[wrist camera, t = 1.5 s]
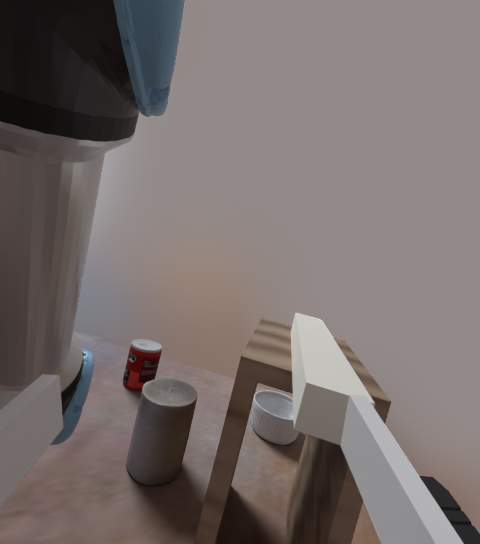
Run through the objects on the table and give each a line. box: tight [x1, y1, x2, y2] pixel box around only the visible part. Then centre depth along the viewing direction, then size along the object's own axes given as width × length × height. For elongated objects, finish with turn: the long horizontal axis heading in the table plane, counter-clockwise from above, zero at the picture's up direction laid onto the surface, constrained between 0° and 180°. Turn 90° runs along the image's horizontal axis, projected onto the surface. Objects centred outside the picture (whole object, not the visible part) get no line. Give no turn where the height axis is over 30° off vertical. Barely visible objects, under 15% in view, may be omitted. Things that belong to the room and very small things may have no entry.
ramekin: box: [251, 390, 299, 445], centre depth 71 cm, size 13×13×7 cm
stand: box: [194, 318, 391, 544], centre depth 39 cm, size 22×14×30 cm, turn 170°
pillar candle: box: [126, 378, 197, 485], centre depth 51 cm, size 10×10×15 cm
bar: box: [291, 313, 375, 445], centre depth 31 cm, size 28×4×3 cm, turn 170°
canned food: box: [123, 339, 162, 391], centre depth 77 cm, size 8×8×11 cm
